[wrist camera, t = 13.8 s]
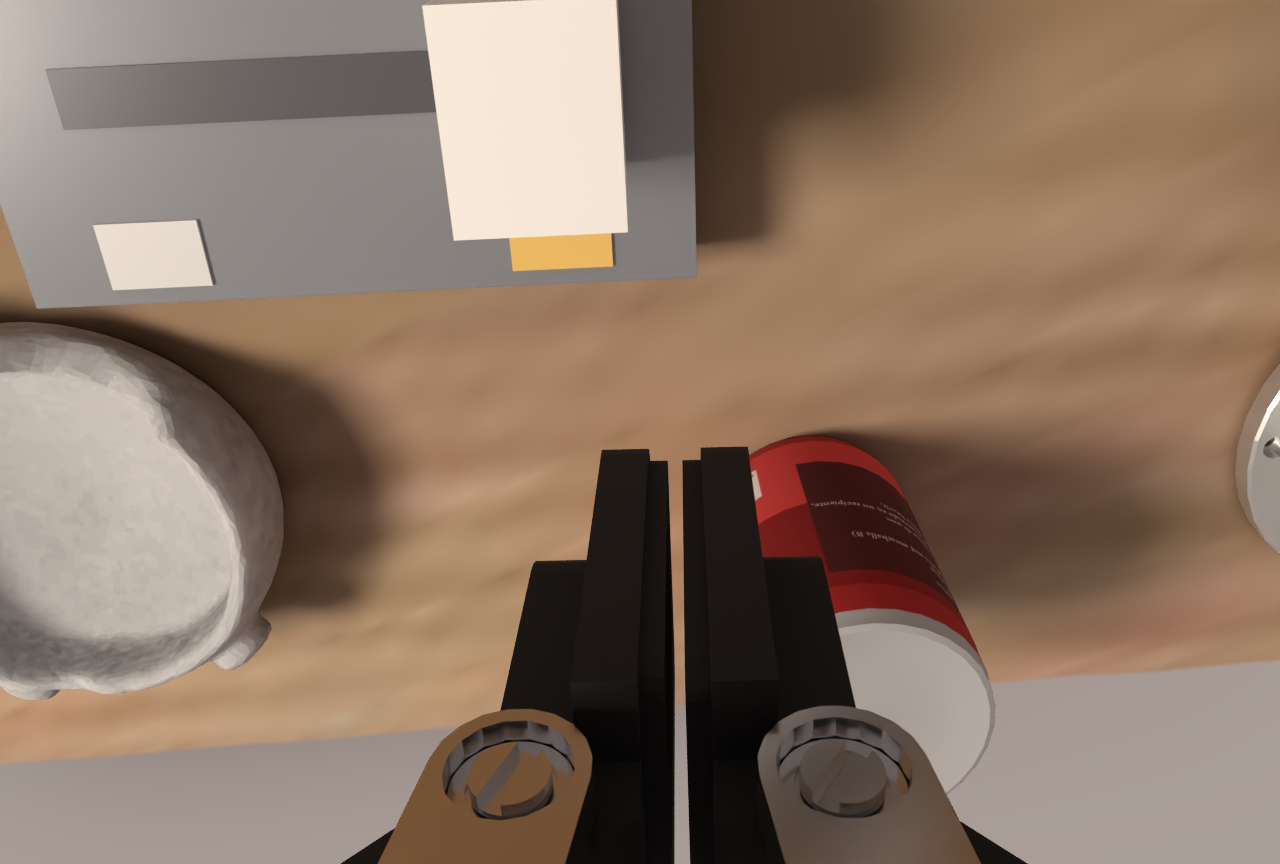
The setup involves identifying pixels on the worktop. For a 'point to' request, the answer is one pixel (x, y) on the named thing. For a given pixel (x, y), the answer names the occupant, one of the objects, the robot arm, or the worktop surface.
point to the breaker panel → (292, 154)
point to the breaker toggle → (529, 116)
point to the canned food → (880, 594)
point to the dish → (125, 518)
